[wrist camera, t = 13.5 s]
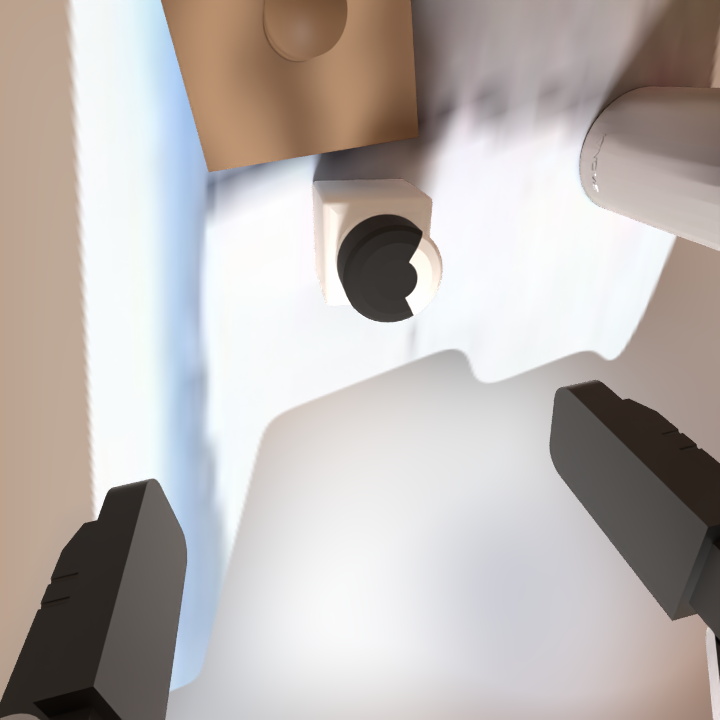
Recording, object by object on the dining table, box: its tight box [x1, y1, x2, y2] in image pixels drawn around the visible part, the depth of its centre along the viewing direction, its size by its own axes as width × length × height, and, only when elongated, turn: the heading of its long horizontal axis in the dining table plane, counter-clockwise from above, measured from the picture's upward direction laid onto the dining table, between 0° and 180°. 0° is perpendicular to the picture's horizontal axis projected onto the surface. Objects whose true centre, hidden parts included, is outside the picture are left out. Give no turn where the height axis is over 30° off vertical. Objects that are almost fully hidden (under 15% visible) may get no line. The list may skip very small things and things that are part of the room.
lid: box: [161, 0, 419, 172], centre depth 23 cm, size 13×13×8 cm
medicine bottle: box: [312, 179, 442, 322], centre depth 33 cm, size 7×7×12 cm
